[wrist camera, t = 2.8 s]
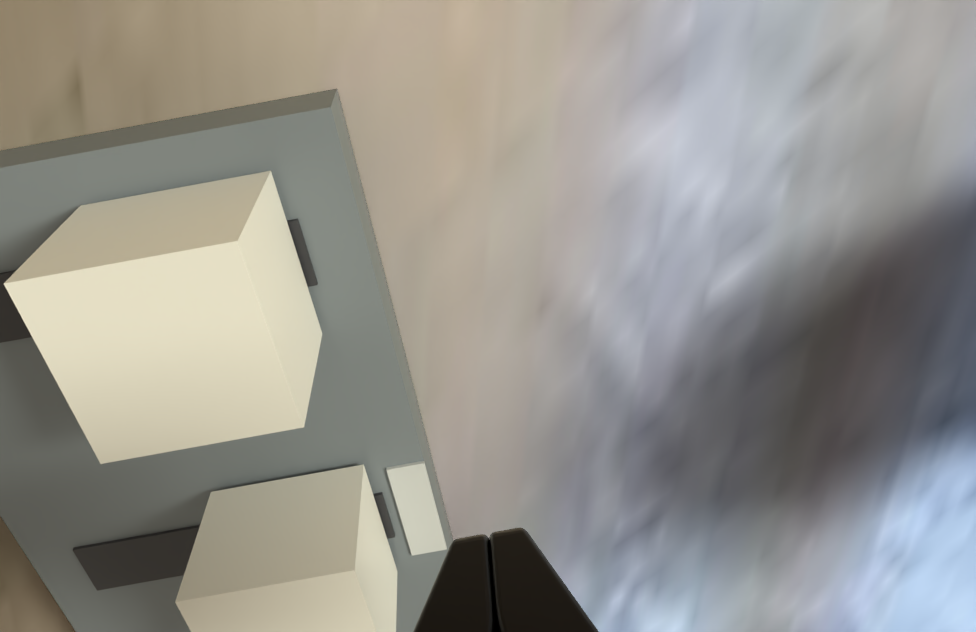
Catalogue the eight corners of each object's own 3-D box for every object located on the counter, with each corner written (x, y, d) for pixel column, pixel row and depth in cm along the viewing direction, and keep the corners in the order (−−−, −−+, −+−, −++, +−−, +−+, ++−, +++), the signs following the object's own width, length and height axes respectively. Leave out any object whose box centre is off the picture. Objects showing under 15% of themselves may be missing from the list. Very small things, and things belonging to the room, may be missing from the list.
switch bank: (336, 89, 17) (330, 108, 16) (493, 699, 28) (497, 742, 27) (-156, 179, 17) (-206, 206, 16) (193, 752, 28) (181, 798, 27)
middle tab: (363, 464, 20) (354, 570, 17) (397, 571, 22) (394, 683, 19) (211, 491, 20) (175, 602, 17) (258, 596, 22) (233, 711, 19)
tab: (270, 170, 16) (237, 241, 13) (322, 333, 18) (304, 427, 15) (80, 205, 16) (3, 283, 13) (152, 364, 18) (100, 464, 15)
